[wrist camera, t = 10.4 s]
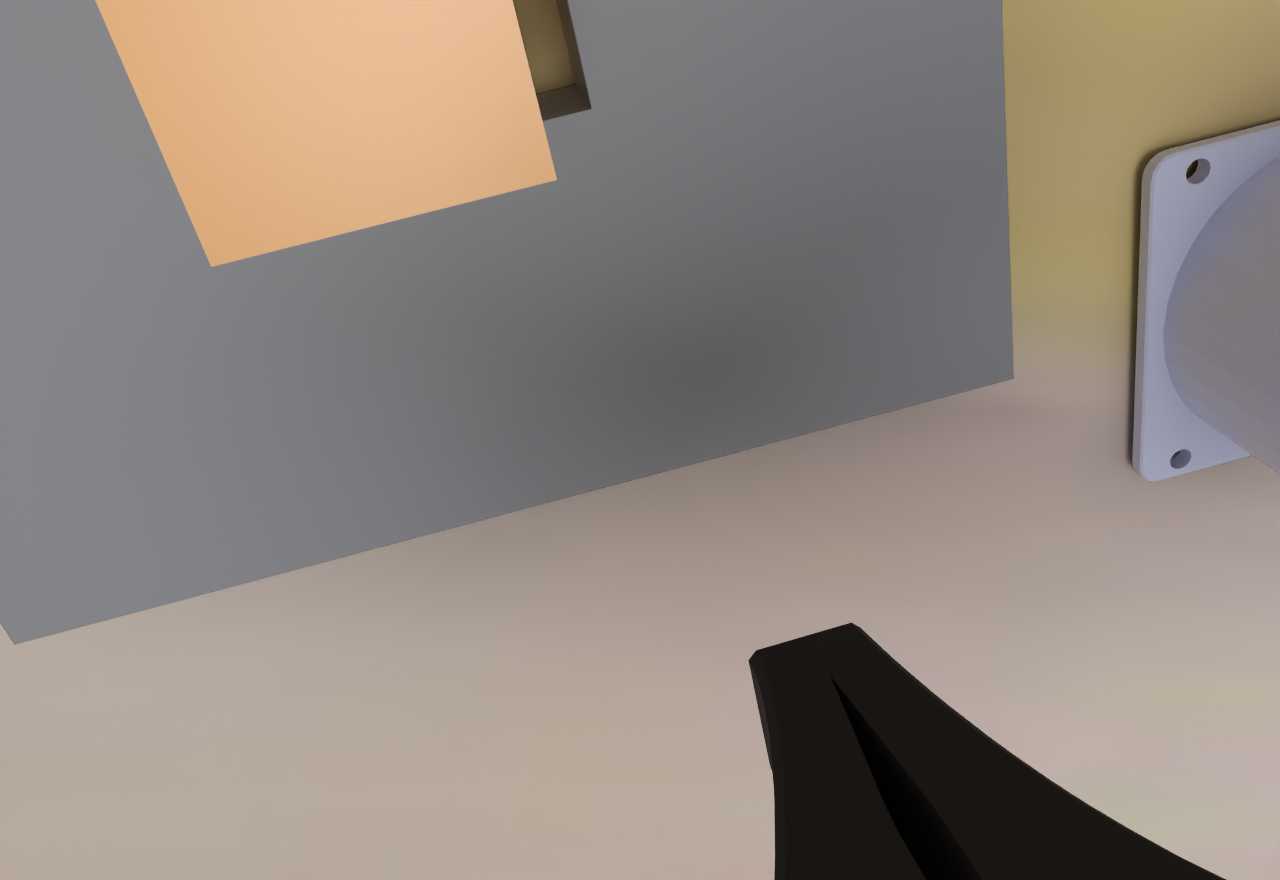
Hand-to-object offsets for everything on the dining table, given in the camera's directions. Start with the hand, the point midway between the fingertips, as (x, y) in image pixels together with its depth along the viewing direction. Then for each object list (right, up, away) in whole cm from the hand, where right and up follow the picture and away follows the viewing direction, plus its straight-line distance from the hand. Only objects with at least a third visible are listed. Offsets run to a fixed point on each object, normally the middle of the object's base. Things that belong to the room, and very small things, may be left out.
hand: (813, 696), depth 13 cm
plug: (-7, +11, +5) cm, 14 cm away
